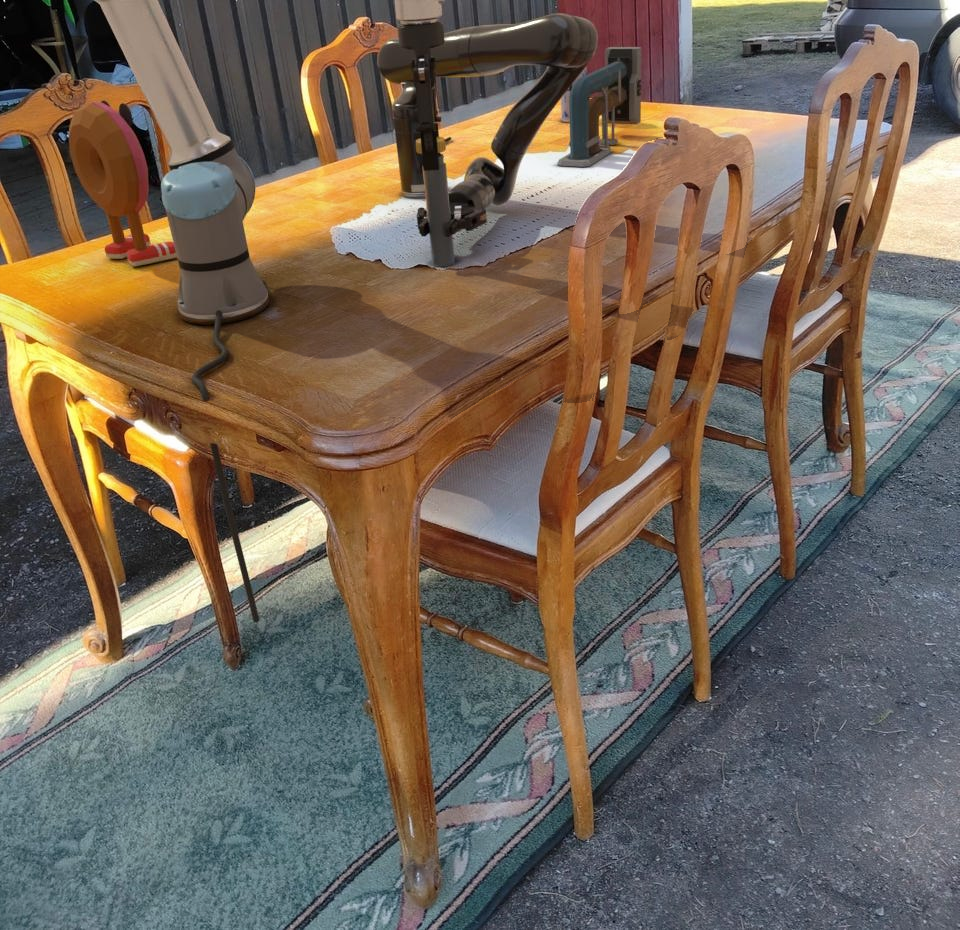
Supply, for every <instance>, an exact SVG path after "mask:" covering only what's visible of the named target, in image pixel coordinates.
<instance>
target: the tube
mask: <svg viewBox="0 0 960 930" xmlns="http://www.w3.org/2000/svg"><path fill="white" fill-rule="evenodd" d="M438 158H439V170H429V171H424V169H423V178H424V187H425V197H424V198H425V205H426V210H427V216H428V226H429V234H428V235H429V245H430V253H431V254H430V255H431V263H432V265H433V266H435V267H448V266H452V265H453V264H455V262H456V261H455V250H454V249H455V248H454V238H453V235H452V236H451V237H446V230H445V226H446V224H447V223H448V222H449V221H451V215H450V204H449V193H448V192H449V183H448V172H447V163H446V162H445V161H444V160H445V159H444V158H445V156H444V154H443V153H438ZM422 168H423V166H422Z"/></svg>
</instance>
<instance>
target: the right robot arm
mask: <svg viewBox="0 0 960 930" xmlns="http://www.w3.org/2000/svg"><path fill="white" fill-rule="evenodd" d="M598 41H599V37H598V31H597V29H596V27H595V25H594V24H593V23H592V21H590V20H589V19H587V18H585V17H581V16H578V15H577V16H576V15H572V14H571V15H570V14H567V13H552V14H547V15H543V16H540V17H537V18H534V19H530V20H526V21H523V22H518V23H509V24H507V23H498V24H497V23H496V24H484V25H483V24H482V25H475V26H468V27H463V28H459V29H456V30H451V31H447V32H444V44H443V45H442V46H440V47H436V48H430V51H431V56H433V57H435V58H436V69H435V73H436V78H475V77H476V78H477V77H486V76H493V75H496V74H499V73H502V72H504V71H506V70H508V69H510V68H512V67H515V66H545V67H547V68H546V70H544V72H543V74H542V75H541V77H539V79H538V80H537V81H536V83H535V84H534V85H533V86H532V87H531V88H530V89H529V90H528V91H527V92H526V93H525V94H524V95H522V96H521V98H520V99H518V100H517V102H516V103H515V104H514V105H513V106H512V107H511V108H510V109H509V111H508V113H507V114H506V115H505V116H504V119H503V120H502V122H501V124H500V126H499V128H498V130H497V132H496V133H495V135H494V137H493V139H492V141H491V142H490V143H491V144H490V149H491V151H492V153H493V154H494V155H495V157H497V159H499V161H500V162H501V165H502V166H503V167H501V166H500V165H498V164H497V163H495V162H493V161H492V160H491V159H489V158H488V157H483V156H479V157H476V158H475V159H473V160H472V161H471V162H470V164H469V165H468V166H467V168H466V171H465V173H464V178H463V181H460V182H459V183H457V184H455V185H454V186H452V188H451V189H450V190H448V193H449V204H450V215H451V221H449V222H448V223H447V224H446V226H445V230H446V237H451V236H452V237H453V235H455V234H457V233H459V232H462V231H463V230H465V231H466V232H471V231H472V230H475V229H477V228H479V227H481V226H483V225H484V224H485V225H486V224H487V223H488V218H487V217H488V216H487V209H488V208H489V207H490V206H491V204H492V205H494V206H501V205H502V206H503V205H504V204H506V203H507V202H508V201H509V200H510V199H511V198H512V195H513V194H514V190H515V187H516V182H517V177H518V173H519V171H520V170H519V169H520V167H521V164H522V161H523V159H524V157H525V155H526V153H527V151H528V150H529V148H530V146H531V145H532V143H533V141H534V139H535V138H536V136H537V134H538V132H539V131H540V129H541V128H542V125H543V124H544V123H545V121H546V120H547V118H548V117H549V115H550V114H551V112H552V111H553V110H554V109H555V107H556V105H558V103H559V102H560V101H561V98H562V96H563V95H564V94H565V92H566V91H567V90H568V89H569V87H570V86H571V85H572V83H573V82H574V81H575V80H576V78H577V77H578V76H579V75H580V74H581V72H582V71H583V70H584V69H585V67H586V66H587V67H588V65H589V63H591V60H592V59H593V58H594V55H595V54H596V52H597V47H598V43H599V42H598ZM412 59H415V51H414V50H413V49H410V50H406V49H402V48H401V47H400V46H399V38H398V36H397V37H393V38H390V39H389V40H387V41H386V42H384V43H383V44H382V46H380V48H379V51H378V53H377V57H376V65H377V69H378V70H379V73H380V74H381V76H382V77H383V78H384V79H385V80H387V81H388V82H389V83H391V84H395V85H403V87H402V88H403V89H402V90H401V93H400V94H399V96H398V97H397V98H396V99H395V100H394V101H393V103H392V104H391V105H392V106H391V111H392V118H393V126H394V127H393V128H394V135H395V144H396V151H397V160H398V161H397V162H398V170H399V171H398V172H399V180H400V187H401V189H400V192H401V195H402V196H403V197H406V198H415V199H416V198H417V199H419V198H426V197H425V187H424V178H423V168H422V166H423V158H422V154H419V153H417V152H416V140H417V139H420V138H421V136H420V132H416V128H419V127H418V125H419V119H418V108H417V97H416V88H415V87H414V77H413V72H412V70H411V61H412ZM435 93H436V96H437V95H438V94H437V83H436V84H435ZM435 123H437V122H435ZM444 139H445V144H446V143H448V142H450V141H452V137H451V136H448V137H446V138H444ZM416 224H417V230H418V232H419V235H420V236H421V237H427V236H428V235H429V226H428V216H427V209H425V207H421V206H420V207H418V208H417V213H416Z"/></svg>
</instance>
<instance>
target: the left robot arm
mask: <svg viewBox="0 0 960 930" xmlns="http://www.w3.org/2000/svg"><path fill="white" fill-rule="evenodd" d="M93 1H95V2H96V3H97V4H99V6H100V7H101V10H102V12H103V15H104V16H105V18H106V20H107V22H108V24H109V26H110V28H111V30H112V33H113V34H114V37H115V39H116V40H117V43H118V45H119V47H120V49H121V51H122V52H123V55H124V57H125V60H126V61H127V63H128V66H129V68H130V70H131V72H132V74H133V76H134V78H135V79H136V83H137V84H138V86H139V88H140V90H141V92H142V94H143V97H144V98H145V101H146V102H147V105H148V107H149V109H150V110H151V112H152V113H151V114H152V115H153V117H154V119H155V121H156V123H157V125H158V127H159V129H160V131H161V134H162V135H163V138H164V140H165V142H166V144H167V145H168V148H169V150H170V151H169V155H168V159H167V162H166V164H167V166H168V168H169V170H170V171H168V172H167V173H166V174H165V175H164V176H163V177H162V179H161V182H160V191H161V201H162V205H163V207H164V209H165V214H166V217H167V221H168V226H169V230H170V234H171V238H172V242H173V243H174V246H175V251H176V255H177V257H176V259H177V262H178V266H179V283H178V294H177V310H178V314H179V318H180V319H182V320H183V321H184V322H186V323H189V324H193V325H202V326H203V325H204V326H205V325H206V326H210V325H214V327H213V335H212V337H213V338H212V340H213V344H214V346H215V347H216V348H217V349H218V350H219V351H220V352H221V354H220V355H219V356H218V357H217V358H215V359H214V360H212V361H210V362H208V363H205V364H204V365H202V366H200V367H198V369H196V370H195V371H194V373H193V374H192V376H191V379H190V380H191V382H192V384H193V385H194V386H196V387H197V388H198V389H199V392H200V395H201V399H202V401H203V402H208V401H210V395H209V392H208V388H207V386H206V384H205V383H204V382H203V381H202V380H201V379H200V377H202V375H204V374H206V373H207V372H209V371H211V370H212V369H214V368H216V367H217V366H219V365H221V364H222V363H224V362H225V361H226V360H227V358H228V356H229V350H228V347H226V345H224V344H223V342H221V339H220V335H221V329H222V324H230V323H233V322H239V321H241V320H245V319H248V318H251V317H253V316H256V315H258V314H260V312H263V311H264V310H265V309H266V308H267V307H268V306H269V305H270V296H269V291H268V286H267V282H266V281H265V280H263V279H262V278H261V276H260V274H259V272H258V270H257V269H256V267H255V265H254V264H253V262H252V260H251V257H250V251H249V246H248V241H247V236H246V232H245V227H244V220H245V218H246V216H247V215H248V213H249V212H250V210H251V209H252V207H253V204H254V201H255V198H256V181H255V177H254V174H253V171H252V170H251V168H250V166H249V164H248V163H247V162H246V161H245V160H244V158H242V157H241V156H239V154H238V151H237V150H236V147H235V145H234V143H233V141H232V139H231V137H230V136H228V135H226V134H224V133H222V132H220V131H218V129H217V127H216V124H215V123H214V120H213V119H212V116H211V114H210V112H209V109H208V107H207V104H206V103H205V101H204V98H203V96H202V94H201V92H200V90H199V88H198V86H197V85H198V84H197V83H196V81H195V79H194V77H193V75H192V73H191V70H190V68H189V65H188V63H187V62H186V59H185V57H184V55H183V52H182V51H181V49H180V46H179V44H178V42H177V39H176V37H175V36H174V32H173V31H172V29H171V27H170V24H169V21H168V20H167V17H166V15H165V13H164V11H163V9H162V7H161V5H160V2H159V0H93ZM445 2H446V0H394V10H395V19H396V20H397V21H399V24H398V25H397V26H396V27H397V37H398V38H399V46H400V47H401V48H402V49H406V50H410V49H413V50H414V51H415V59H412V61H411V70H412V72H413V77H414V87H415V88H416V97H417V108H418V119H419V125H418V127H419V128H416V132H420V136H421V147H422V158H423V169H424V171H429V170H439V158H438V146H437V137H440V133H439V131H440V130H439V123H442V116H438V114H439V111H438V108H437V107H438V106H437V95H436V93H435V84H436V85H437V77H436V73H435V69H436V58H435V57H433V56H431V51H430V48H436V47H440V46H442V45H443V44H444V33H445V29H444V22H442V20H440V18H441V17H442V16H443V7H442V4H445ZM435 122H436V123H435ZM209 444H210V450H211V455H212V459H213V464H214V468H215V472H216V477H217V481H218V486H219V489H220V495H221V498H222V503H223V506H224V511H225V515H226V518H227V522H228V526H229V530H230V534H231V538H232V542H233V545H234V550H235V554H236V558H237V561H238V565H239V569H240V573H241V578H242V581H243V585H244V589H245V594H246V597H247V601H248V605H249V610H250V614H251V618H252V622H253V623H258V622H260V617H259V616H260V615H259V611H258V608H257V604H256V599H255V596H254V592H253V587H252V583H251V580H250V575H249V572H248V571H249V570H248V567H247V563H246V559H245V555H244V552H243V548H242V543H241V538H240V536H239V532H238V527H237V524H236V520H235V515H234V512H233V511H234V510H233V507H232V502H231V499H230V493H229V490H228V486H227V482H226V481H227V480H226V477H225V473H224V468H223V463H222V460H221V455H220V451H219V446H218V443H215V442H210V443H209Z"/></svg>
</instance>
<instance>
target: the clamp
mask: <svg viewBox="0 0 960 930" xmlns="http://www.w3.org/2000/svg"><path fill="white" fill-rule="evenodd" d="M596 93H600V94H597V95H595V96H593V97H591V96H592V95H594V94H596ZM641 106H642V47H641V46H609V47H606V48H605V66H603V67H601V68H599V69H597V70H594V71H592V72H590V73H587V75H585V76H583V77H581V78H579V79H578V81H577V82H576V83H575V84H574V85H573V86H572V89H571V91H570V96H569V114H570V122H569V142H568V147H569V151H570V153H568V154H566V155H564V156H562V157H561V158H559V159H558V161H557V163H556V165H558V166H561V167H562V166H563V167H581V168H584V167H591V166H592V165H593V164H595V163H597V162H598V161H600V160H601V159H603V158H605V157H606V156H607V155H609V154H611V153H612V152H613V151H612V149H611V146H616V145H617V144H619V140H618V138H615V125H638V124H640V123H641V122H642V120H641V119H642V117H641V115H642V114H641V113H642V107H641ZM600 116H601V136H600ZM610 124H611V136H610V138H609V125H610Z"/></svg>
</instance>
